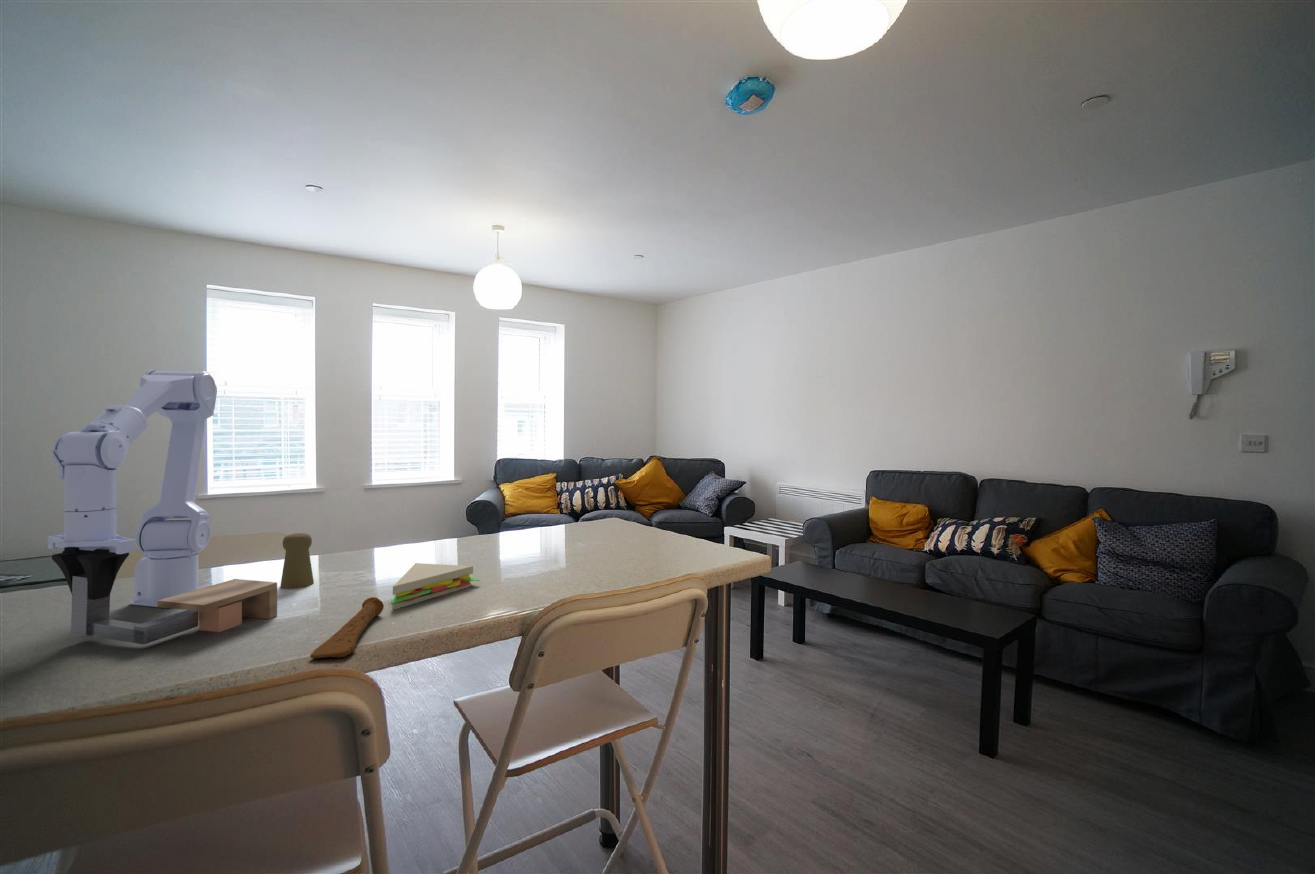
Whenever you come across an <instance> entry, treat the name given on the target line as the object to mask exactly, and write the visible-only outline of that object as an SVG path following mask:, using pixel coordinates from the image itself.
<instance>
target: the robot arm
mask: <svg viewBox="0 0 1315 874" xmlns="http://www.w3.org/2000/svg"><path fill="white" fill-rule="evenodd" d="M217 394H218V388H217V385H216V382H215V380H214V378H213V376H212V375H211V374H210V373H209V372H207V371H179V370H178V371H177V370H175V371H173V370H156V369H149V370H147V371H146V372H145V374H144V375H142V376H140V381H139V389H138V390H137V391H136V392H135V393H134V394H133V396H131V397H130V398H129V400H128V401H127V402H126V403H125V404H115V405H114V404H111V405H108V406H106V407H105V408H104V409H105V410H104V411H103V412H101V414H100V415H98V416H97V417H95V418H94V419H93V420H91V421H90V422H89V423H88V424H87V425H85V426H84V427H83V428H81V429H80V430H79V431H70V432H67V433H66V434H64V435H62V436H60V437H58V439H57V440H56V442H55V443H54V446H53V449H52V450H51V457H52V459H53V460H52V461H53V462H54V464H55V465H56V467H57V469H58V477H59V479H60V480H61V481H63V491H64V492H63V496H64V497H63V500H64V501H63V504H64V505H63V506H64V507H63V512H64V513H63V516H64V523H63V524H64V525H63V526H64V527H63V530H64V531H63V534H56V535H51V536H50V535H49V536H47V549H50V550H55V549H63V550H62V552H60V553H54V554H52V555H51V560H52V561H53V562H54V563H55V564H56V565H57V566H58V568H59V569H60V571H61V572H62V574H63V576H64V578H65V580H66V582H67V585H68V588H69V592H70V594H71V595H72V579H73V576H75V575H80V574H85V573H86V577H87V582H88V591H89V595H90V598H91V600H96V599H100V598H104V597H108V596H110V597H111V593H112V590H113V586H114V583H115V581H116V578H117V576H118V573H119V571H120V568H121V567H122V565H123V564H124V563H125V561H126V560H127V558H128V557H129V556H130V553H135V551H136V548H137V550H138V552H139V553H142V554H143V557H142V558H141V559H140V560H138V561H137V563H136V565H135V567H134V573H133V574H134V579H133V580H134V584H133V585H134V591H133V592H134V594H133V595H134V600H131V601H129V602H128V603H129V605H131V606H132V605H133V606H143V607H150V608H151V607H152V608H153V607H154V608H158V607H157V601H158V600H161V599H165V598H169V597H172V596H176V595H179V594H183V593H187V592H190V591H194V590H197V589H199V553H201V552H203V550H205V548H207V546H208V545H209V542H210V539H211V535H212V534H211V533H212V532H211V526H210V513H208V512H207V510H206V509H204V508H202V506H199V505H198V504H197V503H195V501H196V494H197V493H196V492H197V486H198V481H199V472H200V465H201V459H202V451H203V444H204V439H205V438H204V437H205V432H206V431H205V430H206V424H207V423H206V422H207V419H209V418H211V417H212V416H214V413H215V408H216V401H217ZM156 412H157V413H158V414H159V415H160V416H163V417H166V419H167V418H168V419H169V420H170V422H171V430H170V436H169V442H168V448H167V456H166V462H165V466H164V474H163V480H162V481H163V482H162V487H161V494H160V499H159V502H158V503H157V504H156V505H154V506H152V507H151V508H149V509H148V510H146V511H145V512H143V514H142V516H141V521H140V523H139V526H138V527H137V529H136V532H135V535H134V538H129V537H125V536H121V535H119V534H118V533H117V532H118V521H117V520H118V512H117V511H118V505H117V502H118V500H117V499H118V498H117V495H118V494H117V493H118V491H117V490H118V486H117V483H118V481H117V480H118V479H117V477H118V475H117V473H118V472H117V469H118V468H119V467H121V466H122V465H123V464H125V461H126V459H127V456H128V452H129V450H130V449H131V443H133V441H135V440H136V439H137V438H138V437H139V436H141V434H142V433H144V432H145V430H146V429H147V427H148V420H147V419H148V418H149V417H150V416H152V415H153V414H155V413H156ZM160 608H162V609H164V608H163V607H160Z"/></svg>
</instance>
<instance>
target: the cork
mask: <svg viewBox="0 0 1315 874" xmlns="http://www.w3.org/2000/svg"><path fill="white" fill-rule="evenodd" d="M312 543H313V539H312V536H311V534H309V533H307V532H305V533H304V532H296V533H290V534H287V535H286V536H284V537H283V539H282V548H283V550H285V555H284V559H283V560H284V561H283V566H282V573H281V578H280V579H281V581H280V589H283V590H296V589H303V588H307V587H310V586H312V585H315V581H314V576H313V569H312V568H313V567H312V562H311V555H310V547H311V546H312Z"/></svg>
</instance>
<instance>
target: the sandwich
mask: <svg viewBox="0 0 1315 874" xmlns="http://www.w3.org/2000/svg"><path fill="white" fill-rule="evenodd" d="M472 574H474V566H473V565H458V564H456V565H455V564H441V563H440V564H439V563H418V562H416V563H414V564H413V565H412V566H411V567H410V568H409V569H408V570H407V571H406V572H405V573H404V575H402V576H401V577H400V579H398V581H397V582H396V583H395V584H393V586H392V596H394V597H393V599H392V600H391V604H392V611H395V610H398V609H400V608H399V607H402V608H403V607H404V608H405V607H407V606H411V605H414V603H415V604H418V603H421V602H424V601H428V600H430V599H434V598H436V597H440V596H444V595H447V594H451V593H452V592H453V593H454V592H457V591H460V590H462V589H467V588H469V587H472V582H481V579H477V578H475V577H472V576H470V575H472ZM427 599H428V600H427ZM397 608H398V609H397ZM394 609H395V610H394Z"/></svg>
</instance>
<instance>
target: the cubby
mask: <svg viewBox="0 0 1315 874" xmlns="http://www.w3.org/2000/svg"><path fill="white" fill-rule="evenodd" d="M235 601H242V617H248V618H258V619H265V618H266V619H265V620H271V619H273V618H272V617H274V618H276V617H278V582H276V581H262V580H255V579H254V580H251V579H250V580H249V579H241V578H240V579H239V578H234V579H231V580H230V579H229V580H227V581H223V582H220V583H216V584H213V585H209V586H204V587H201V588H198V589H197V590H194V591H190V592H187V593H183V594H179V595H176V596H172V597H169V598H165V599H161V600H158V601H157V607H156V608H161V607H163V608H162V609H174V610H183V611H186V610H193V611H203V612H204V611H207V610H210V609H214V608H217V607H220V606H223V605H226V604H229V603H232V602H235ZM275 616H276V617H275ZM270 618H271V619H270Z"/></svg>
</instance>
